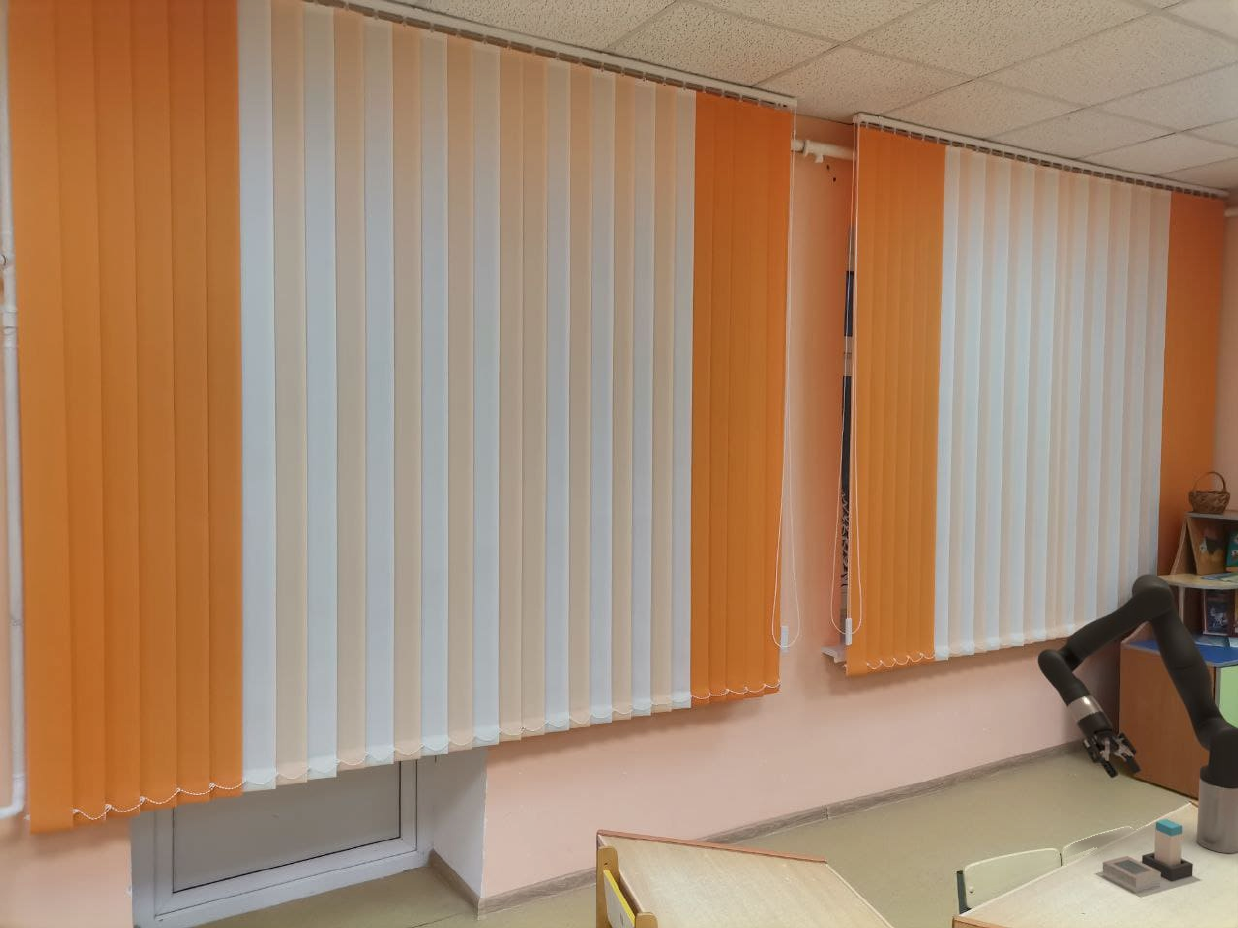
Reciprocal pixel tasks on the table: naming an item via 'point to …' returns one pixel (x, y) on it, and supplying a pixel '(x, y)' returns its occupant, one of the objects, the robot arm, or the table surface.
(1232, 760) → the robot arm
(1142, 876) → the port
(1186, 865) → the dark grey square socket
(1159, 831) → the plug
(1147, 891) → the panel
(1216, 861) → the table surface
